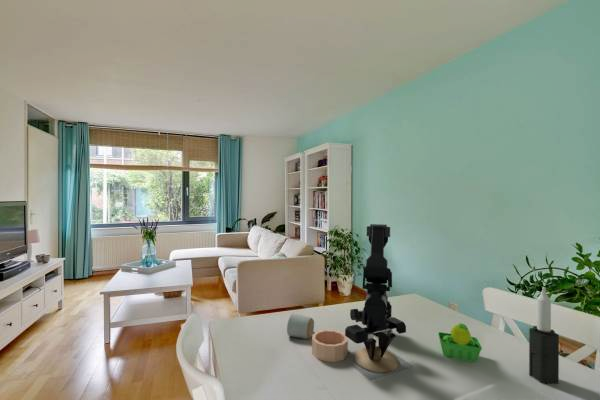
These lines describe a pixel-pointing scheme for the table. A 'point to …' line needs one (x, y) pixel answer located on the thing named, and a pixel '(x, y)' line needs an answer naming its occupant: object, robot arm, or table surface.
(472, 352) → the fruit basket
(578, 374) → the table surface
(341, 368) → the table surface
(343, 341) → the bowl
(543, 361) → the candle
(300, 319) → the ceramic mug
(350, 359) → the mat
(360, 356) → the lid
